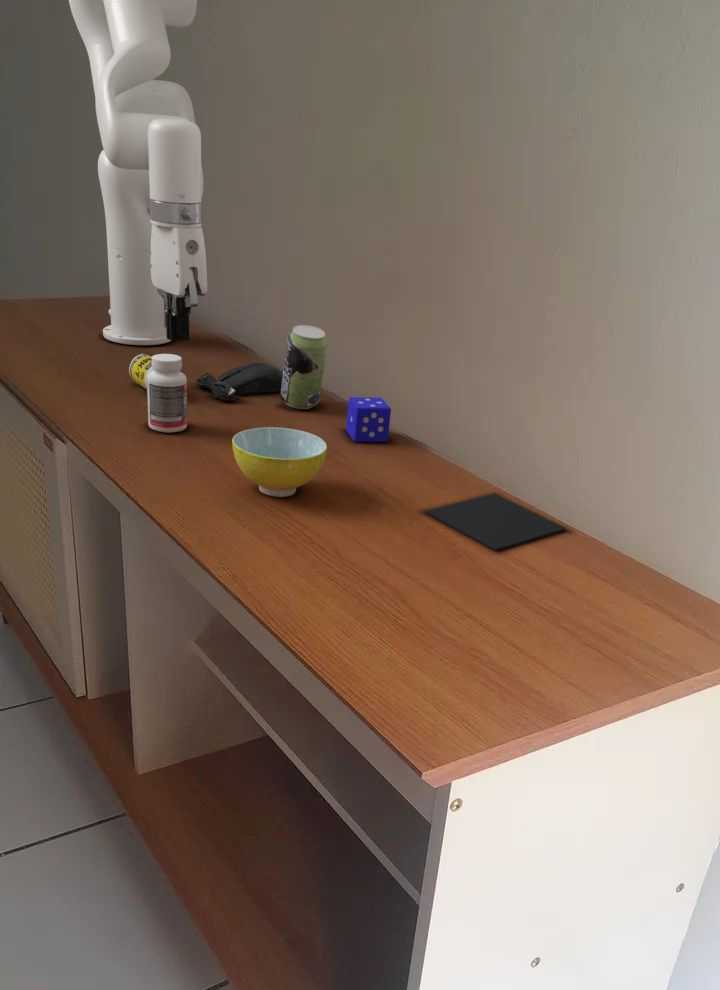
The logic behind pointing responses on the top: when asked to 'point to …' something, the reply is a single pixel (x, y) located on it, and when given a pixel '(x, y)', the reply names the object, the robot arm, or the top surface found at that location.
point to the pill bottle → (167, 394)
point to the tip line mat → (495, 521)
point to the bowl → (278, 458)
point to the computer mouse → (243, 381)
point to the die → (368, 419)
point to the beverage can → (303, 366)
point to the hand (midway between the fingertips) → (177, 339)
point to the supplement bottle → (141, 369)
